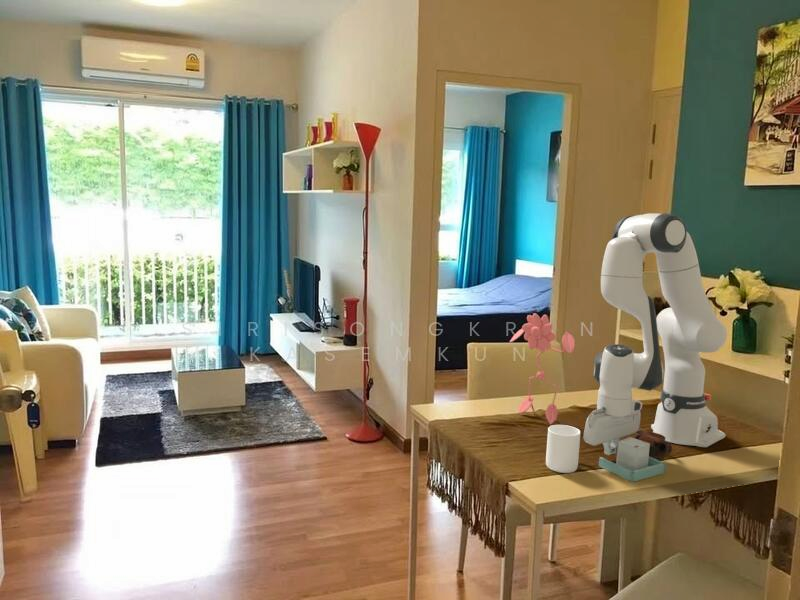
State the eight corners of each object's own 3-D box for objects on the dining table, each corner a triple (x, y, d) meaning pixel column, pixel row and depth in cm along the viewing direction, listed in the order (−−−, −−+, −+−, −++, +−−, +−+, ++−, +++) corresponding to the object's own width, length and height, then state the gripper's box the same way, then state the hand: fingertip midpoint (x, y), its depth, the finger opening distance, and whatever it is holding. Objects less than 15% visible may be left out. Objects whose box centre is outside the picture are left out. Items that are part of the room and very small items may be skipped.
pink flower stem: (516, 405, 222) (521, 305, 216) (579, 427, 202) (587, 318, 196) (485, 414, 212) (489, 309, 206) (548, 438, 193) (555, 323, 187)
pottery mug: (622, 456, 181) (628, 428, 184) (643, 466, 186) (648, 438, 188) (660, 460, 171) (665, 430, 174) (681, 470, 176) (686, 441, 178)
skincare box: (627, 461, 176) (629, 436, 175) (648, 469, 172) (650, 443, 171) (615, 467, 172) (617, 441, 171) (636, 475, 168) (638, 448, 167)
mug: (562, 454, 180) (565, 419, 178) (589, 463, 174) (593, 427, 173) (539, 466, 171) (542, 429, 169) (567, 476, 165) (570, 438, 164)
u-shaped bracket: (631, 457, 179) (632, 449, 179) (665, 472, 170) (666, 463, 170) (598, 466, 173) (599, 457, 172) (632, 481, 163) (632, 472, 163)
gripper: (599, 414, 167) (595, 465, 169) (646, 402, 179) (641, 449, 181) (579, 408, 172) (576, 457, 174) (626, 396, 184) (622, 442, 186)
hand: (609, 453), depth 178 cm, fingers closed
